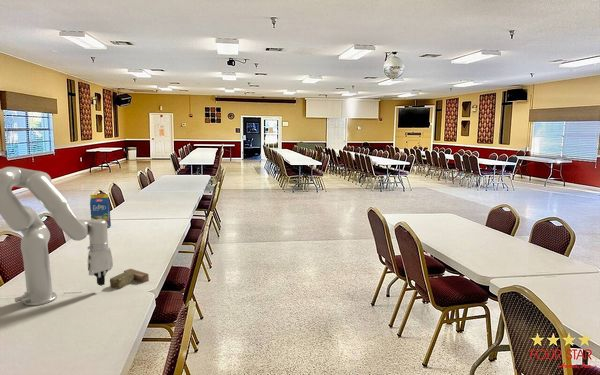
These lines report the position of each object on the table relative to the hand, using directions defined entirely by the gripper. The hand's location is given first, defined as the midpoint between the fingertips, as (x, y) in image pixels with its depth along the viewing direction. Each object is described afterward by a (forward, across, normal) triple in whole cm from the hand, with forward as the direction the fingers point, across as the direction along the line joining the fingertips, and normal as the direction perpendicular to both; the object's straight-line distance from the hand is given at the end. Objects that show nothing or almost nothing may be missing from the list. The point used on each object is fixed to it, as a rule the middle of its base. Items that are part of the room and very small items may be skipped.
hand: (101, 284), depth 195 cm
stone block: (+4, +11, -1) cm, 11 cm away
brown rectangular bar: (+3, +19, -1) cm, 19 cm away
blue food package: (+4, +72, +110) cm, 132 cm away
